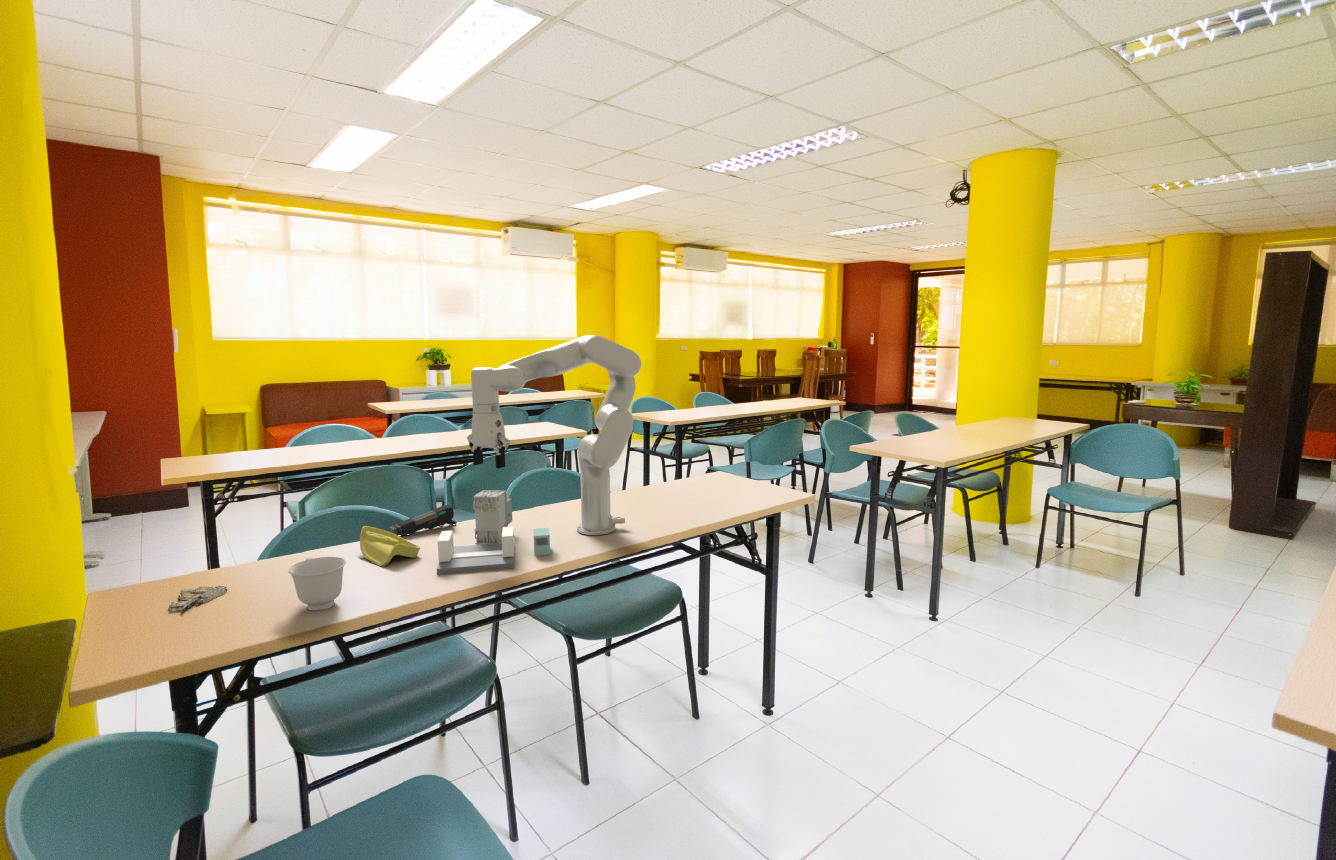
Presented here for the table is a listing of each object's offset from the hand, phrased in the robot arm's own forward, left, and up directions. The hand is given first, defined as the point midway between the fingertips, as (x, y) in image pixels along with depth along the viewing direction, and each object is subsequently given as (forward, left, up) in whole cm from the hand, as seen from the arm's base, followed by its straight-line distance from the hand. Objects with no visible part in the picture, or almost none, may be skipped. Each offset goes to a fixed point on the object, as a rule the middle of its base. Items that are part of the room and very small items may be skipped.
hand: (489, 465), depth 190 cm
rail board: (+4, +13, -25) cm, 28 cm away
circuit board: (+68, +26, -25) cm, 77 cm away
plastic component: (+29, +2, -25) cm, 39 cm away
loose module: (-14, +9, -25) cm, 30 cm away
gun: (+23, -20, -25) cm, 39 cm away
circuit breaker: (0, -8, -25) cm, 26 cm away
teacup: (+39, +35, -25) cm, 58 cm away
